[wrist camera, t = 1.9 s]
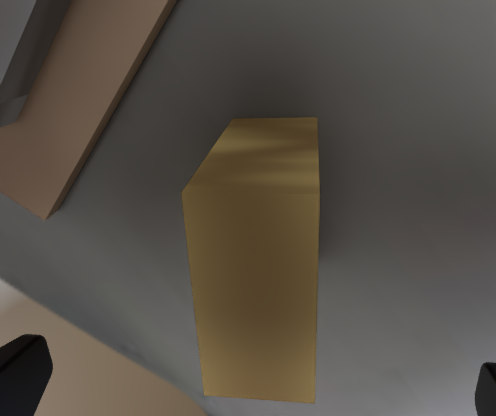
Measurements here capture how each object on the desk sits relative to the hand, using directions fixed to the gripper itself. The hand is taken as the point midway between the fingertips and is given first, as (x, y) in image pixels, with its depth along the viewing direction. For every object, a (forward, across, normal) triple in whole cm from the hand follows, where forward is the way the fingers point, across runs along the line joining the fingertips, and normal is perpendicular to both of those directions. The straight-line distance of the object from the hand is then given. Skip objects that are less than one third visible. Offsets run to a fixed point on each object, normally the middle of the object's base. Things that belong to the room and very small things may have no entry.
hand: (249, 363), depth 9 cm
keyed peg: (+9, 0, 0) cm, 9 cm away
